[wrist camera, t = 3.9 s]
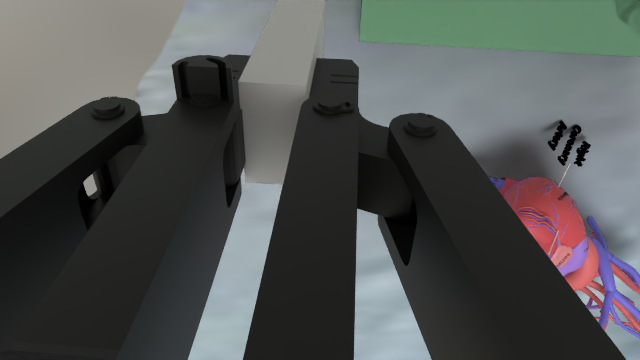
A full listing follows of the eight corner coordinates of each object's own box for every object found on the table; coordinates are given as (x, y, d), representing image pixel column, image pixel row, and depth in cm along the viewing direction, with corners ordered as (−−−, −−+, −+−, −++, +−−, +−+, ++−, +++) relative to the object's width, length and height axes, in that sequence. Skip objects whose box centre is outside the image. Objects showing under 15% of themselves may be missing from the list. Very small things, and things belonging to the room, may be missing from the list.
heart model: (515, 78, 38) (710, 221, 40) (438, 149, 45) (607, 268, 47) (483, 236, 27) (758, 426, 29) (388, 298, 34) (613, 447, 36)
